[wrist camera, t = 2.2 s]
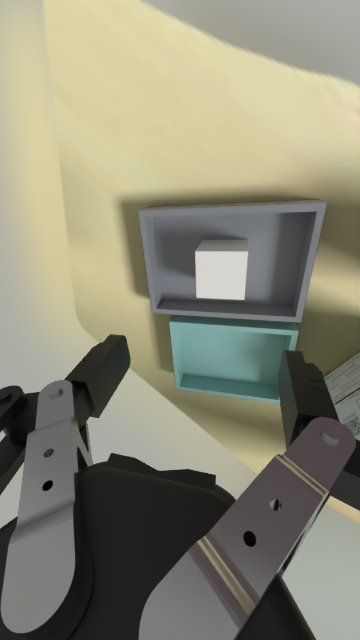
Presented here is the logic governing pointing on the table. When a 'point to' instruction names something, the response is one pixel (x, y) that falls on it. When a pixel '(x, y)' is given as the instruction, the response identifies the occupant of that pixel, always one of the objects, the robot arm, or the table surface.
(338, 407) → the light bulb box
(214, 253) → the stone block
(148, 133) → the table surface
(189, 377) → the bin
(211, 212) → the bin
